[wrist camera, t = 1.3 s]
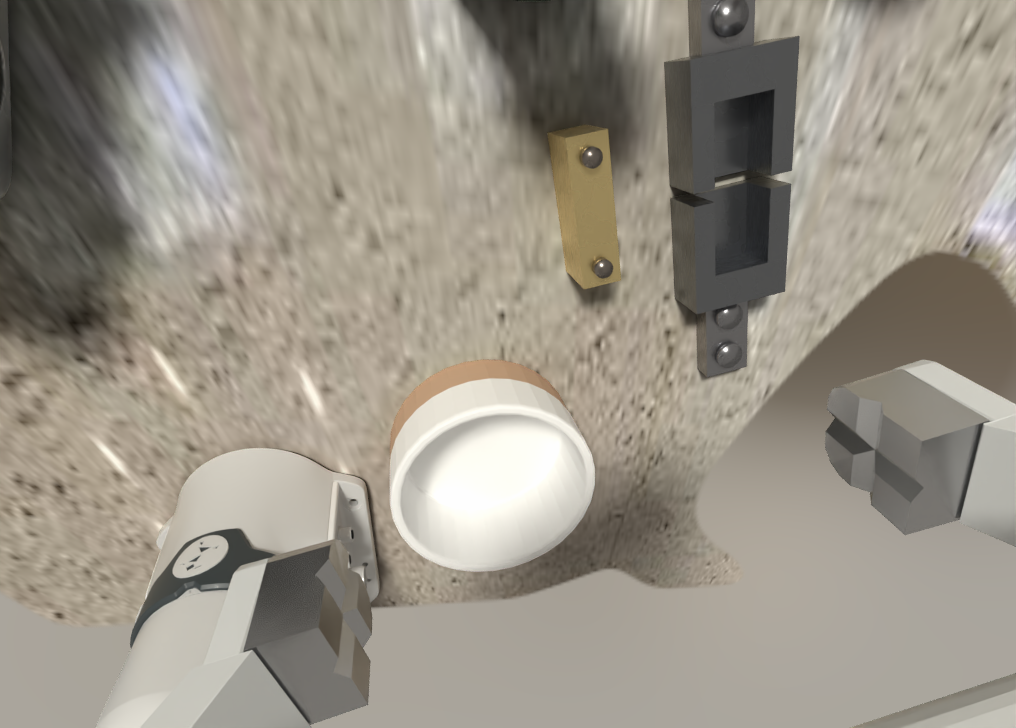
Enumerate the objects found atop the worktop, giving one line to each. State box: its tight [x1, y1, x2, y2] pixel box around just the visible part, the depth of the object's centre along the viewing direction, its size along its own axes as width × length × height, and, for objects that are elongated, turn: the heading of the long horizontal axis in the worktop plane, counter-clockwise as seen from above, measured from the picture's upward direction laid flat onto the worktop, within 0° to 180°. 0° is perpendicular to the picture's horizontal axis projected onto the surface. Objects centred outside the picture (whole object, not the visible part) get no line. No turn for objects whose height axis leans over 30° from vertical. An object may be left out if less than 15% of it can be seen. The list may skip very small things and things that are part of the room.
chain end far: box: [671, 176, 791, 377], centre depth 48 cm, size 17×8×4 cm, turn 11°
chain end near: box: [664, 0, 799, 194], centre depth 40 cm, size 17×8×4 cm, turn 11°
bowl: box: [390, 360, 595, 572], centre depth 49 cm, size 17×17×8 cm
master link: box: [548, 125, 621, 289], centre depth 42 cm, size 11×3×6 cm, turn 10°
